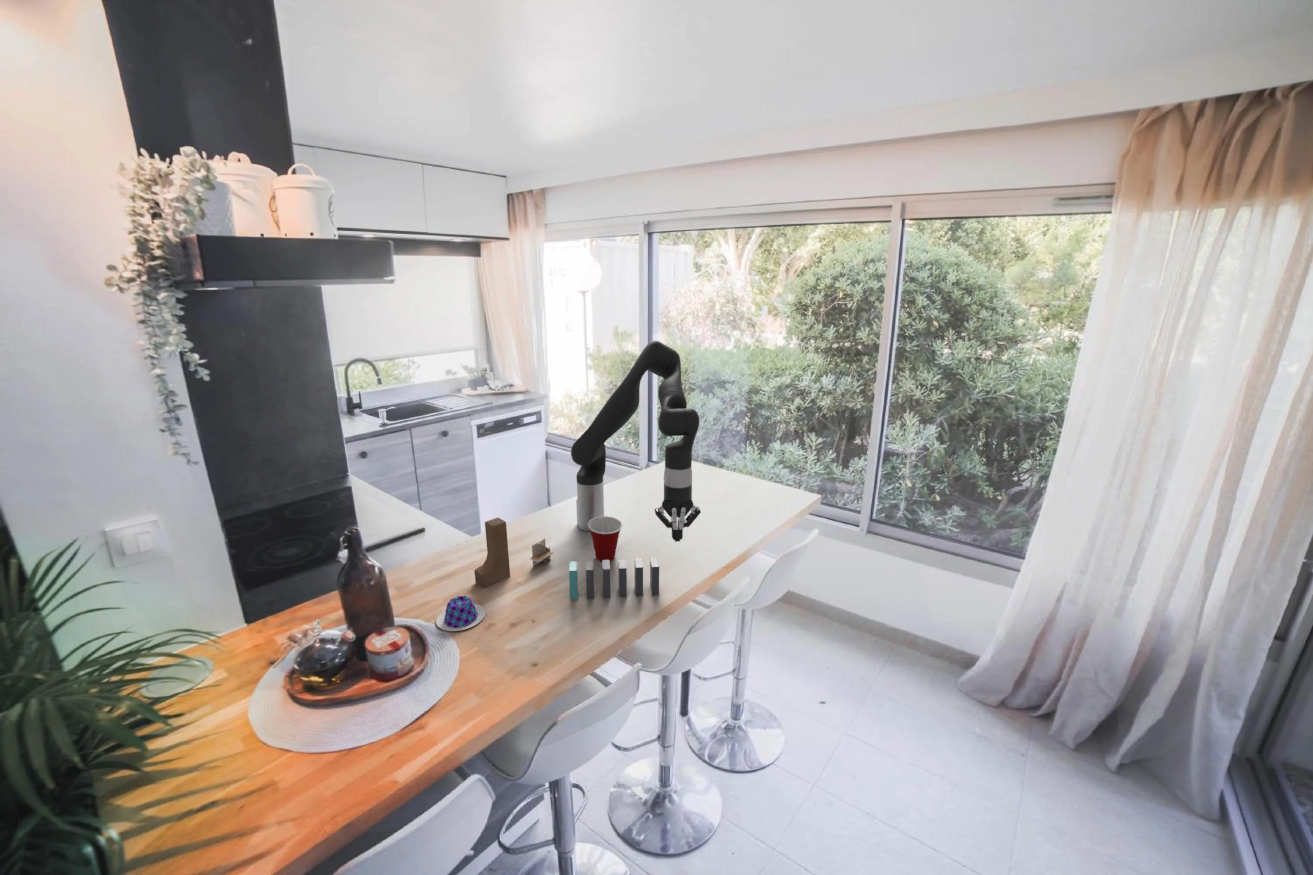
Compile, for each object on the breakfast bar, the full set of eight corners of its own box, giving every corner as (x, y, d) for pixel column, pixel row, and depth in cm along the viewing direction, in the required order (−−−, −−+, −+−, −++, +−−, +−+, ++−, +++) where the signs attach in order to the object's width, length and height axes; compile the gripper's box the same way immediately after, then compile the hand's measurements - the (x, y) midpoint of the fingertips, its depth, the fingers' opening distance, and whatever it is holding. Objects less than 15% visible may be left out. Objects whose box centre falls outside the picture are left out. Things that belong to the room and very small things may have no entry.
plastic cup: (603, 570, 162) (603, 534, 158) (581, 557, 169) (580, 523, 166) (630, 557, 169) (629, 523, 166) (607, 546, 176) (607, 512, 173)
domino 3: (603, 598, 148) (602, 569, 145) (603, 588, 152) (602, 560, 150) (610, 597, 148) (609, 568, 145) (610, 587, 153) (609, 559, 150)
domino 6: (651, 595, 149) (651, 566, 146) (650, 585, 154) (650, 557, 151) (658, 595, 149) (659, 566, 147) (657, 585, 154) (657, 557, 151)
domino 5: (635, 596, 149) (635, 567, 146) (634, 586, 153) (634, 558, 151) (643, 596, 149) (643, 567, 146) (641, 586, 154) (641, 558, 151)
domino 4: (619, 597, 148) (619, 568, 145) (618, 587, 153) (618, 559, 150) (626, 597, 148) (626, 568, 146) (625, 587, 153) (625, 559, 150)
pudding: (491, 623, 137) (489, 605, 135) (442, 639, 131) (439, 620, 129) (478, 600, 147) (476, 583, 145) (431, 614, 140) (429, 597, 139)
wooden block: (482, 589, 151) (477, 531, 146) (475, 583, 154) (469, 526, 149) (510, 577, 158) (506, 521, 153) (502, 571, 161) (498, 516, 155)
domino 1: (570, 599, 147) (569, 570, 144) (571, 589, 151) (569, 561, 149) (577, 599, 147) (576, 570, 144) (578, 589, 152) (577, 561, 149)
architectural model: (554, 562, 167) (553, 541, 165) (538, 572, 161) (537, 550, 159) (546, 559, 169) (545, 538, 167) (530, 568, 163) (528, 546, 161)
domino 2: (586, 599, 147) (585, 569, 145) (587, 589, 152) (586, 560, 149) (594, 598, 147) (593, 569, 145) (594, 588, 152) (593, 560, 150)
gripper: (654, 487, 139) (654, 547, 144) (705, 485, 140) (703, 545, 145) (651, 477, 146) (652, 535, 151) (699, 475, 147) (698, 533, 152)
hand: (677, 540), depth 148 cm, fingers closed
